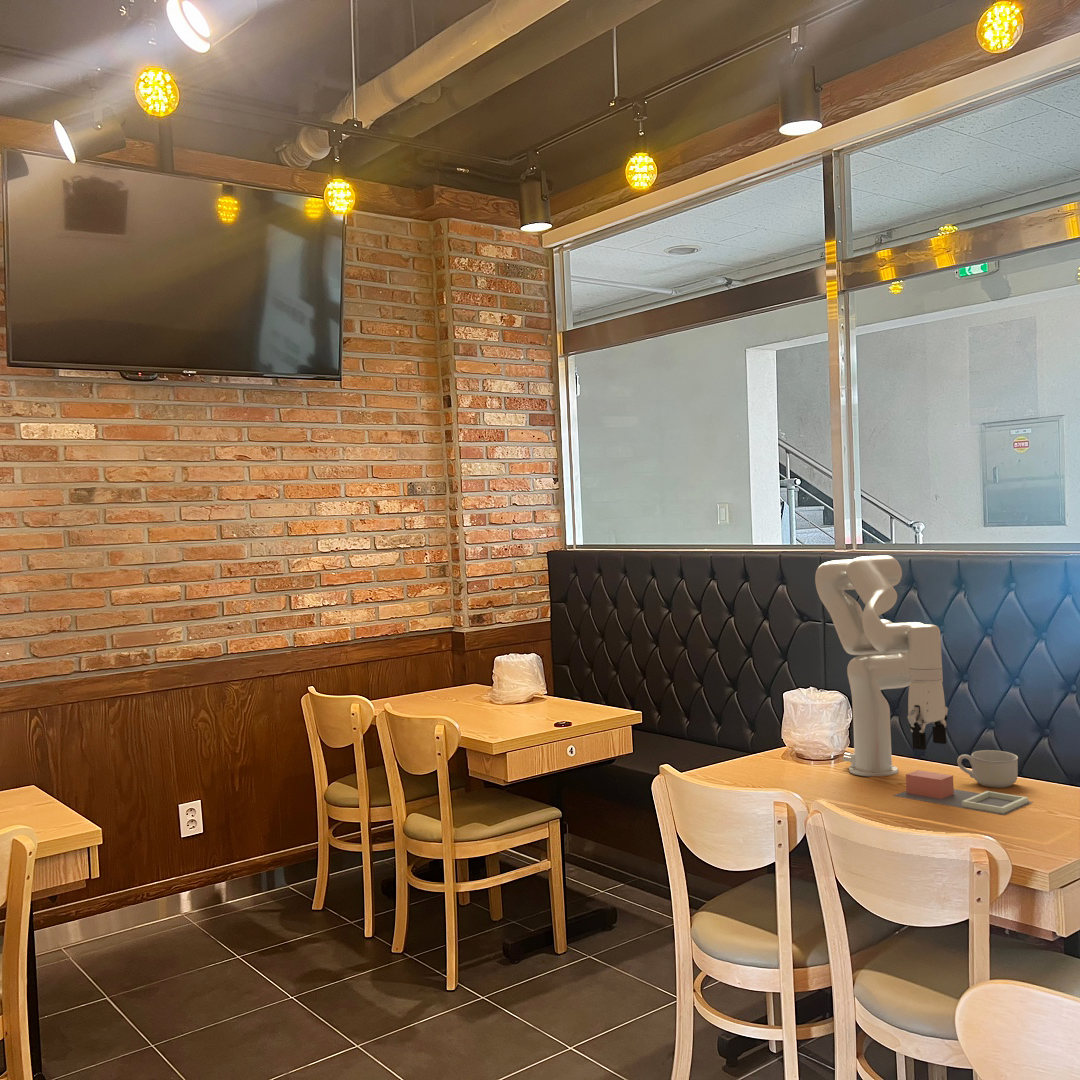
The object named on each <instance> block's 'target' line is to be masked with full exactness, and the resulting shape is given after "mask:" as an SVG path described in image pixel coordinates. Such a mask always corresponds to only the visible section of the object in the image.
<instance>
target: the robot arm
mask: <svg viewBox="0 0 1080 1080" xmlns="http://www.w3.org/2000/svg"><path fill="white" fill-rule="evenodd" d="M902 577H903V571H902V566H901V564H900V563H899V560H897V559H896V558H895V557H894V556H892V555H869V556H868V555H866V556H858V557H856V558H853V559H835V560H830V561H826V562H824V563H821V564H820V565H819V566H818V567H817V569H816V571H815V578H814V581H815V587H816V588H815V589H816V591H817V594H818V595H817V596H818V597H819V599H820V601H821V603H822V604H823V607H825V609H826V610H827V612H828V614H829V616H830V618H831V620H832V623H833V625H834V628H835V631H836V633H837V636H838V639H839V641H840V644H841V646H842V649H843V650H844V651H845V652H846V653H847V654H849V655H852V656H855V657H853V658H851V659H850V661H849V662H848V665H847V668H846V672H847V679H848V683H849V686H850V692H851V701H852V703H851V704H852V705H851V706H852V720H853V721H852V723H853V726H852V727H853V750H854V751H853V753H851V752H844V753H843V756H842V760H843V761H844V762H850V765H849V767H848V772H850V773H851V774H852V775H856V776H860V777H869V778H871V777H886V776H893V775H897V774H898V773H899V768H898V767H897V766H896V765H893V762H892V760H893V759H892V735H891V733H892V732H891V710H890V705H889V702H888V700H887V699H886V698H885V696H884V695H883V693H882V690H884V691H885V690H891V689H904V688H906V687H908V694H907V695H908V698H907V699H908V701H907V702H908V704H907V705H908V706H907V707H908V708H907V711H908V712H907V713H908V714H907V720H908V727H909V728H910V733H911V736H912V740H911V741H912V749H913V750H922V751H924V750H927V736H926V735H927V733H926V732H925V729H926V726H927V725H929V724H933V725H932V742H933V743H934V744H941V745H945V744H947V730H946V729H947V726H948V725H947V719H948V712H949V708H948V707H947V706H946V702H945V693H944V691H945V690H944V686H943V681H944V680H943V679H944V678H943V661H942V657H943V656H942V644H941V643H942V642H941V638H942V637H941V629H940V627H939V626H938V625H935V624H931V623H930V624H925V623H923V622H919V621H918V622H917V621H913V622H911V621H909V622H892V620H888V619H883V618H882V619H881V618H880V616H881V615H883V614H885V613H886V612H888V611H889V610H890V609H892V608H893V607H894V605H895V604H896V603H897V600H898V593H897V591H896V589H895V588H894V587H895V586H896V585H898V584H899V583H900V582H901V580H902ZM848 590H851V591H852V590H853V591H854V590H855V592H856V593H857V595H858V596H859V598H860V599H861V601H862V602H863V604H864V605H865V606H864V608H863V609H862V607H861V605H860V603H859V602H858V601H857V600H856V599H855V598H854V597H853V596H851V595H850V594H848V593H847V592H846V591H848Z"/></svg>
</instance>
